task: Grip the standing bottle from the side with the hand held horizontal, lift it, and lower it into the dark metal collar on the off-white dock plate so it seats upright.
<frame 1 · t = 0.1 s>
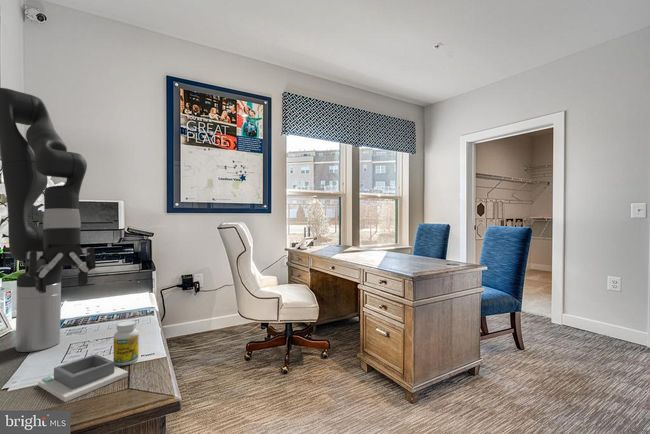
hand: (62, 289, 82), 17 cm above the table, tool pointing down, fingers open, 8 cm apart
dock: (84, 380, 71), on the table
supplement bottle: (125, 362, 80), on the table
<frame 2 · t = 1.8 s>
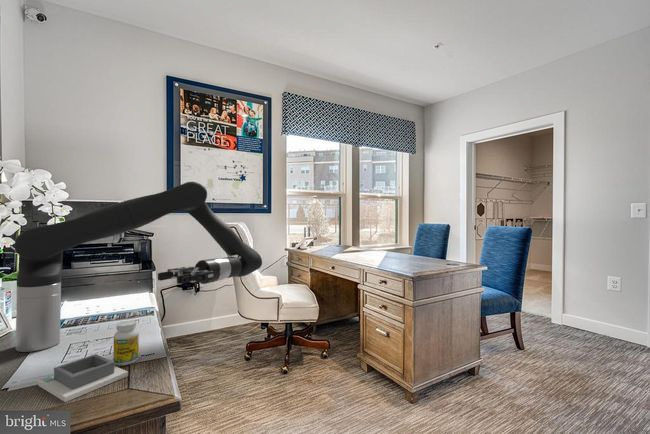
hand: (167, 278, 90), 19 cm above the table, tool horizontal, fingers open, 8 cm apart
nothing on the table moved.
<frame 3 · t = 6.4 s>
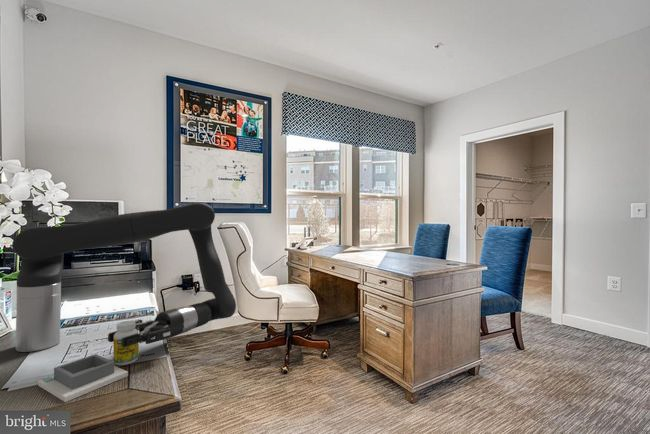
hand: (115, 340, 78), 6 cm above the table, tool horizontal, fingers closed on supplement bottle, 5 cm apart
supplement bottle: (125, 361, 80), on the table, touching gripper
when the fingers open (8 cm above the table, at t = 12.4 s): supplement bottle drops 1 cm, resting on dock.
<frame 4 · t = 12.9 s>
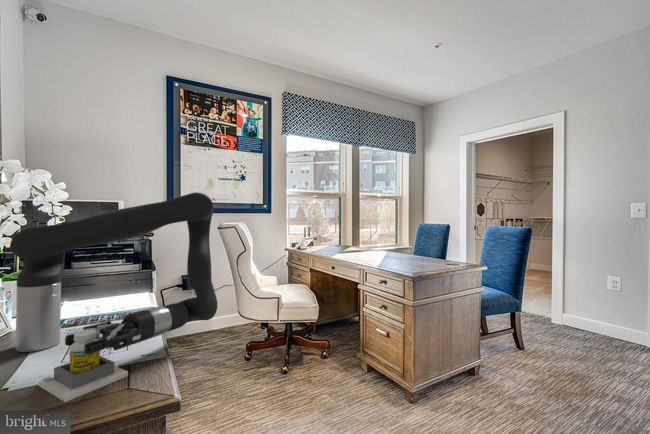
hand: (75, 345, 69), 9 cm above the table, tool horizontal, fingers open, 8 cm apart
supplement bottle: (84, 376, 71), point 1 cm above the table, touching dock
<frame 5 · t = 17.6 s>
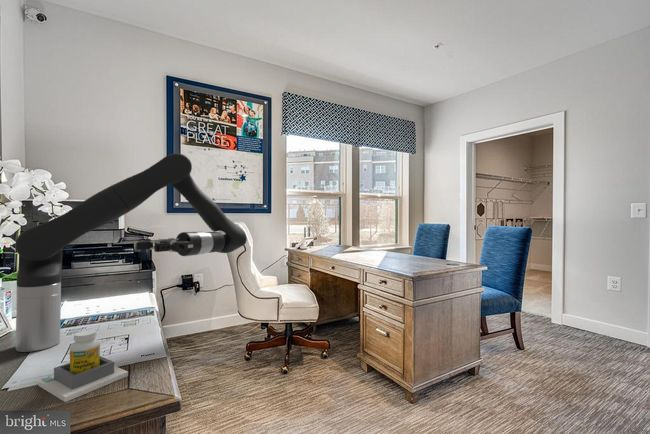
hand: (145, 247, 88), 28 cm above the table, tool horizontal, fingers open, 8 cm apart
nothing on the table moved.
at the end: supplement bottle 0.2 cm off-centre on the dock, point 0.8 cm above the dock's base; supplement bottle tilted 0°; the gripper is holding nothing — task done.
